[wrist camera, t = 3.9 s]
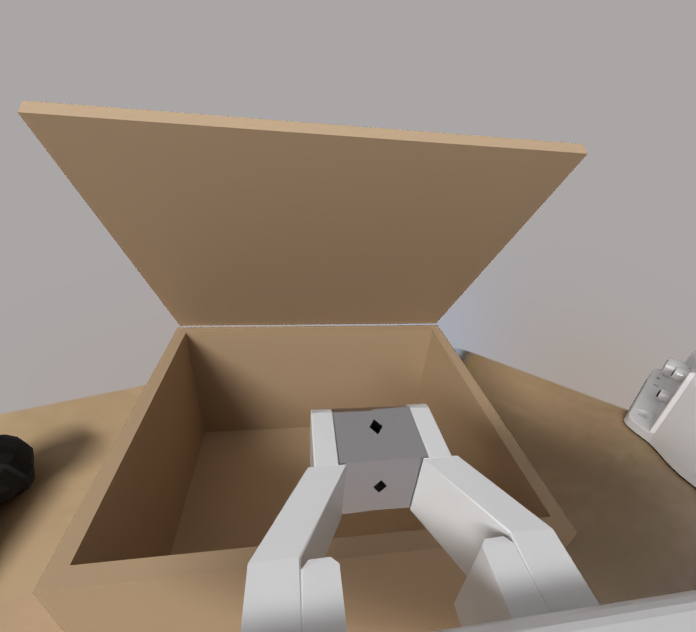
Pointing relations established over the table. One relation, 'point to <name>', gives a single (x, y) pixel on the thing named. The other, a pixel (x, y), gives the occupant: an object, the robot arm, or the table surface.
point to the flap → (299, 209)
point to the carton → (271, 481)
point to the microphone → (15, 466)
